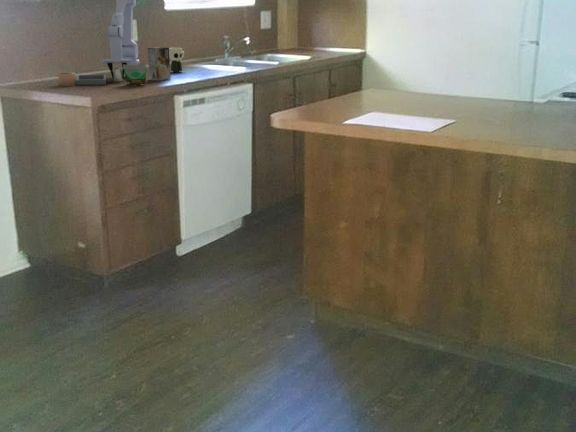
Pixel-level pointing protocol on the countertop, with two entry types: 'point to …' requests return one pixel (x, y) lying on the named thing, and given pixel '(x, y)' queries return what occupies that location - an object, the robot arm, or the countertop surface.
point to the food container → (135, 74)
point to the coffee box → (159, 63)
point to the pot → (67, 79)
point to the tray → (91, 80)
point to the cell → (117, 74)
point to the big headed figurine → (176, 58)
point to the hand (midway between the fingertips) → (118, 78)
